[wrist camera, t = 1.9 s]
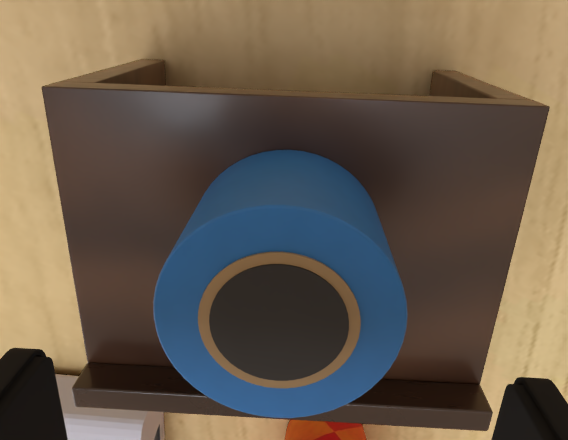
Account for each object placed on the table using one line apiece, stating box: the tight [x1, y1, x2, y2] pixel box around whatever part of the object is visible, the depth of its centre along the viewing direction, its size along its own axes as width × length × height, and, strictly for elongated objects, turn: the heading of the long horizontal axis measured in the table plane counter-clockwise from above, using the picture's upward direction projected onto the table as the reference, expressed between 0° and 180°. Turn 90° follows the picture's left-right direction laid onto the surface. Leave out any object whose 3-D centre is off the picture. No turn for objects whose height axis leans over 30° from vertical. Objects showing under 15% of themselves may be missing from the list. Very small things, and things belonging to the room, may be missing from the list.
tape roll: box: [153, 150, 408, 418], centre depth 15 cm, size 7×7×5 cm
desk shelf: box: [42, 59, 549, 431], centre depth 21 cm, size 12×16×12 cm
